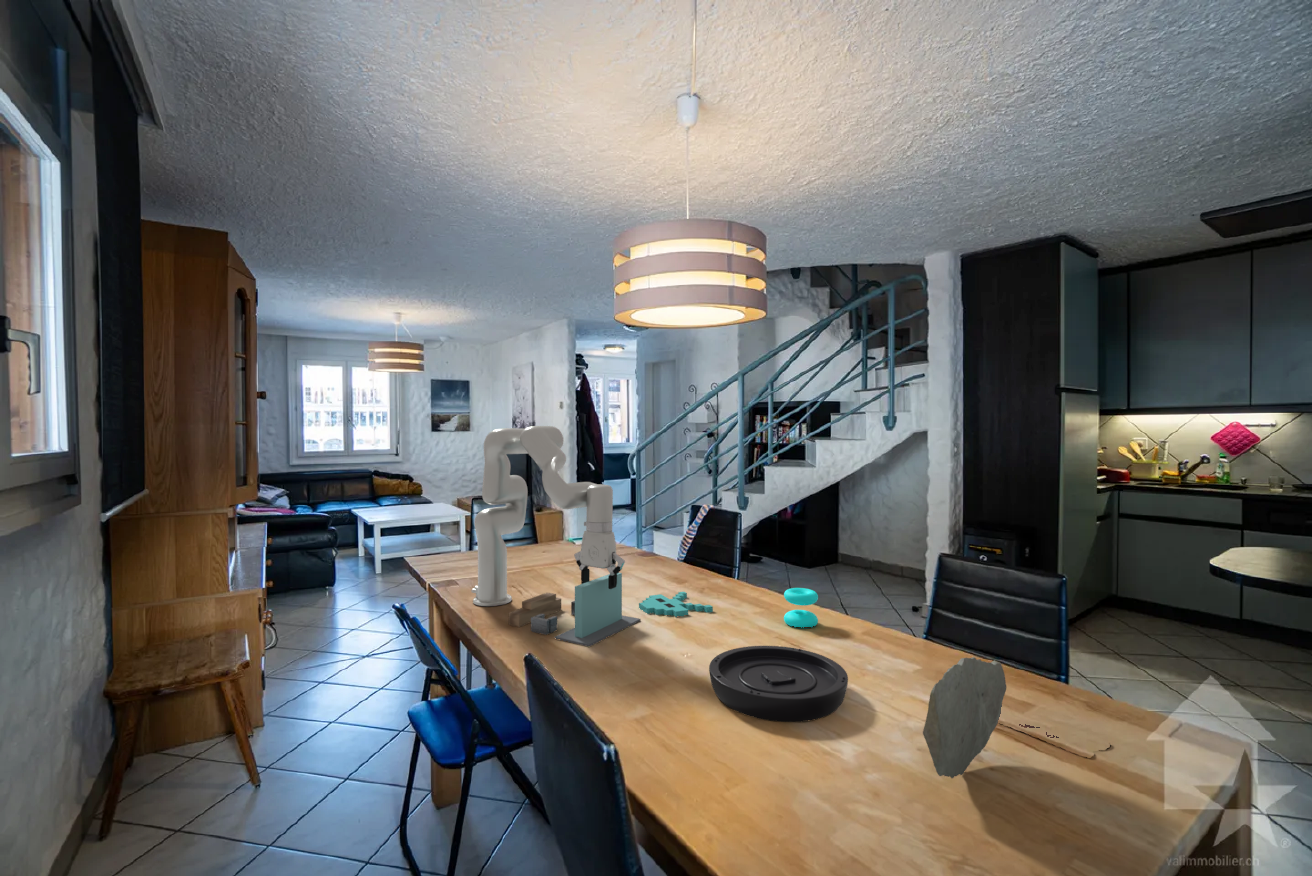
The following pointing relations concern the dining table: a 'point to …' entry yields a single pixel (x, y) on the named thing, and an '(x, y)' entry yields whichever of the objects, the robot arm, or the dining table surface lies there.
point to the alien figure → (671, 605)
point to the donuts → (802, 598)
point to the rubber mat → (598, 632)
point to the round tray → (778, 683)
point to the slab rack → (547, 622)
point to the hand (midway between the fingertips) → (598, 585)
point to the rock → (963, 713)
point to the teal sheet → (597, 605)
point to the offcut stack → (535, 609)
